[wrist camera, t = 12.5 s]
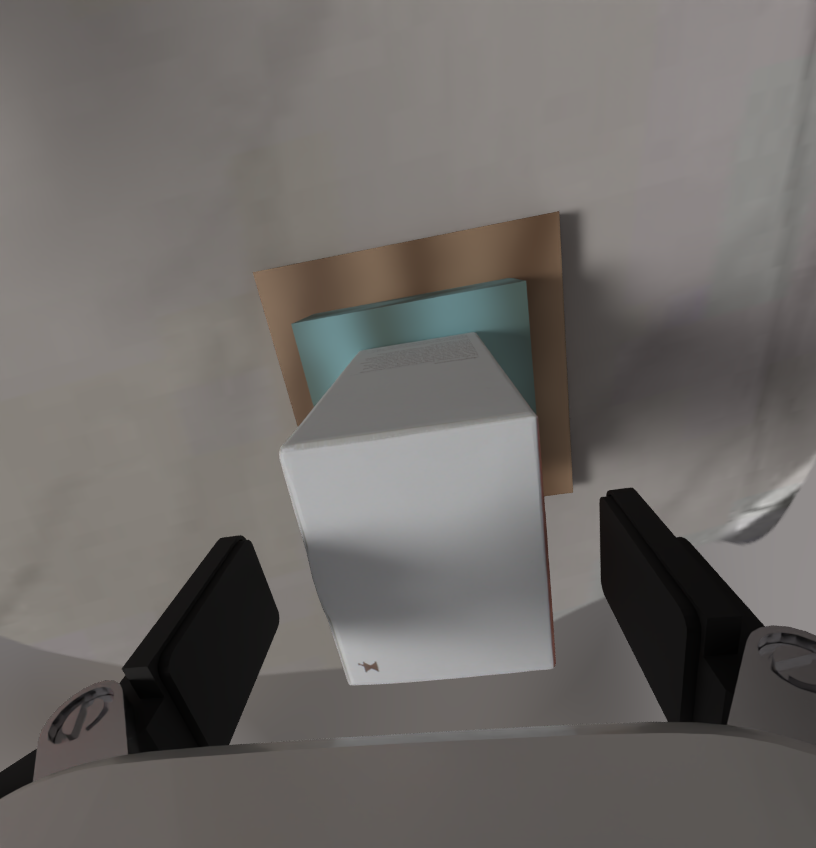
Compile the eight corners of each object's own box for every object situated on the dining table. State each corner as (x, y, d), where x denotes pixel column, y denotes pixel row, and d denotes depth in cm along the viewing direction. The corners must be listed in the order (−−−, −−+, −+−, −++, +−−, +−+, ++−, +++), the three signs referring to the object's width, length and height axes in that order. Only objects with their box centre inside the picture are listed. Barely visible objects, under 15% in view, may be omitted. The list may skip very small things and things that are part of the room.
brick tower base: (551, 214, 25) (587, 199, 19) (566, 482, 31) (596, 530, 25) (262, 271, 27) (217, 274, 21) (330, 513, 33) (310, 564, 27)
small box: (494, 468, 24) (560, 676, 12) (386, 482, 25) (344, 693, 13) (478, 327, 21) (543, 411, 9) (356, 347, 22) (266, 451, 10)
